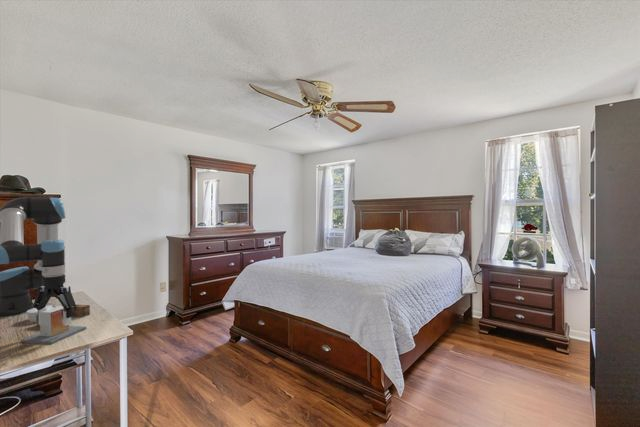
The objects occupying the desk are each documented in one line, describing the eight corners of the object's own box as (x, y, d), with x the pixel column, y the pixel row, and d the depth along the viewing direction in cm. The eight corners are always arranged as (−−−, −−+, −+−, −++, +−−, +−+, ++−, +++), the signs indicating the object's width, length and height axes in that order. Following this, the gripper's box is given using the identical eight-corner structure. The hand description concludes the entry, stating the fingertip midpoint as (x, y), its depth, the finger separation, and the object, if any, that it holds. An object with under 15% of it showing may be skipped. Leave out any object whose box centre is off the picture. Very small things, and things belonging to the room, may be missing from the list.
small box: (50, 337, 123) (50, 312, 123) (40, 336, 124) (39, 312, 124) (70, 329, 131) (69, 306, 131) (59, 328, 132) (59, 305, 132)
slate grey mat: (21, 342, 121) (21, 339, 121) (58, 327, 136) (58, 325, 136) (52, 344, 119) (52, 341, 119) (86, 328, 134) (86, 326, 134)
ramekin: (59, 317, 148) (59, 307, 148) (29, 325, 139) (29, 314, 139) (54, 313, 155) (53, 303, 155) (24, 320, 146) (24, 309, 146)
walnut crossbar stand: (36, 325, 138) (36, 315, 138) (70, 313, 154) (69, 304, 154) (58, 326, 136) (58, 316, 136) (89, 314, 152) (89, 305, 152)
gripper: (20, 276, 125) (22, 326, 125) (69, 278, 121) (70, 329, 122) (39, 272, 132) (40, 319, 133) (85, 273, 129) (87, 322, 129)
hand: (55, 324), depth 127 cm, fingers open, 12 cm apart
